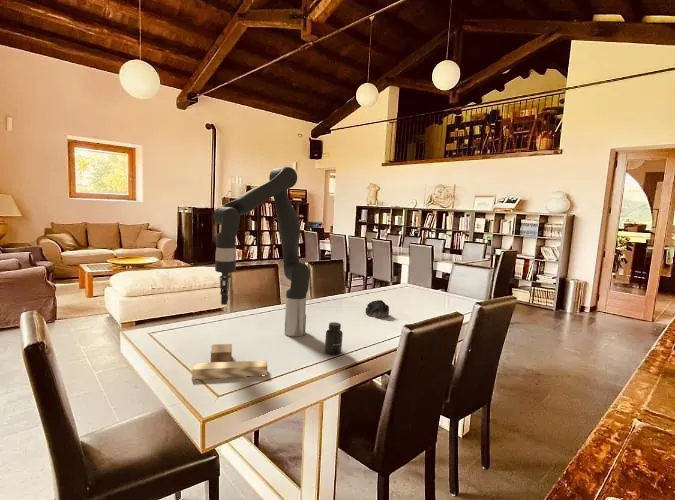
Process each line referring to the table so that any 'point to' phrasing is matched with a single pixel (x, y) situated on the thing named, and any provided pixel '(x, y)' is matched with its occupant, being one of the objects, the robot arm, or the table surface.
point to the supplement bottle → (333, 339)
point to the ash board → (229, 369)
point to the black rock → (377, 309)
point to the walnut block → (221, 353)
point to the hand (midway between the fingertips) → (224, 302)
